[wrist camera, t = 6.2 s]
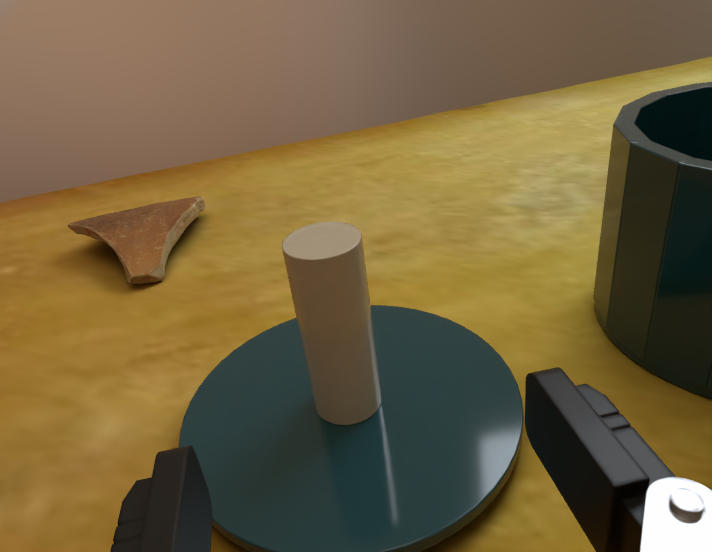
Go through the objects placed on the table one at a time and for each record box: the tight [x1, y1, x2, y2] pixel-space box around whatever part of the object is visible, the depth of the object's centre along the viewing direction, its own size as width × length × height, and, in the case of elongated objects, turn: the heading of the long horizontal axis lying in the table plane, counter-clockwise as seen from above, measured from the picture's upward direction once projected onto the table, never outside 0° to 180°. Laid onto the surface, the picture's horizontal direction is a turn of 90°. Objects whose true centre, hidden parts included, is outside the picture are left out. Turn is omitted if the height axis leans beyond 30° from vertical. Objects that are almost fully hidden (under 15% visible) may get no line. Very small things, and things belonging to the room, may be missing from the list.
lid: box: [179, 222, 524, 552], centre depth 22 cm, size 14×14×9 cm
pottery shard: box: [68, 197, 205, 284], centre depth 41 cm, size 10×9×2 cm
